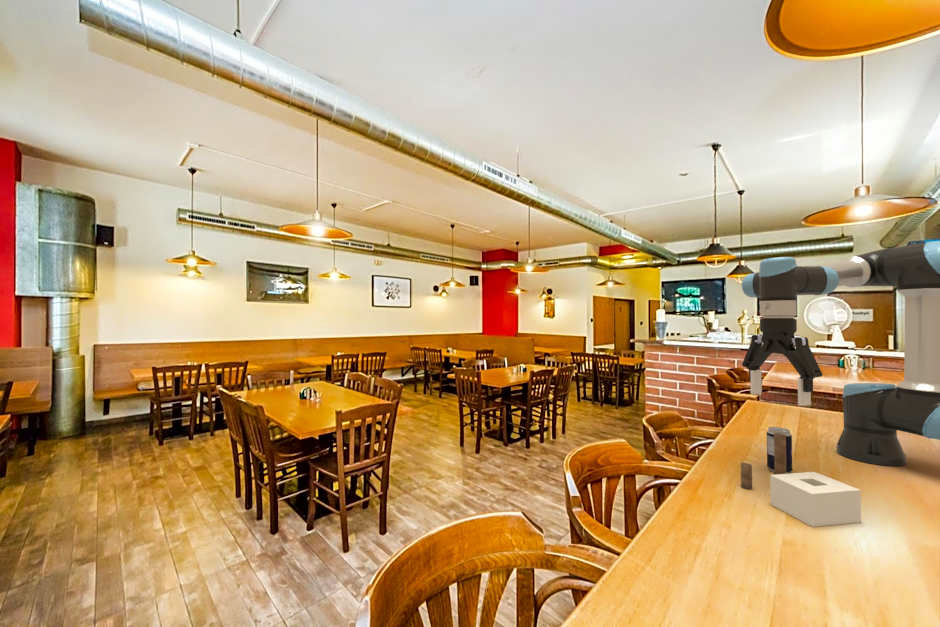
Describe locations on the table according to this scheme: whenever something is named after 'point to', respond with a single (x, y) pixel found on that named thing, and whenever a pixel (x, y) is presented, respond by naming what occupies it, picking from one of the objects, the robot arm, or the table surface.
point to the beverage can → (771, 448)
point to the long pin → (780, 453)
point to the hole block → (815, 498)
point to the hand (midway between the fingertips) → (778, 399)
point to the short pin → (746, 476)
